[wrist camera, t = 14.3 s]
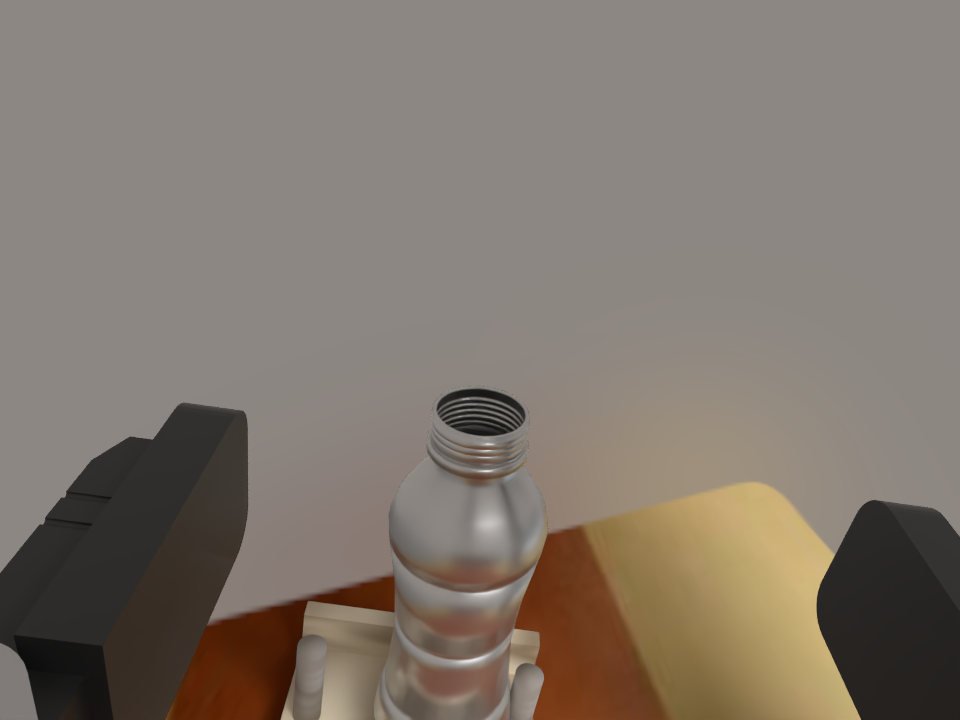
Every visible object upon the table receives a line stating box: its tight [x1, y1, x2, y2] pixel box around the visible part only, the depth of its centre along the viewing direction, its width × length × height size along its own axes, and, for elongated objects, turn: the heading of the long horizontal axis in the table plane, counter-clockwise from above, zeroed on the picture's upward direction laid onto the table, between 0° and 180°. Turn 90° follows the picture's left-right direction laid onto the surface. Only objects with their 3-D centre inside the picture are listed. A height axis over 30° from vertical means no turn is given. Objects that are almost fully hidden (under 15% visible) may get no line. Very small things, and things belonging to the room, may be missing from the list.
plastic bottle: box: [374, 386, 548, 720], centre depth 33 cm, size 6×7×20 cm
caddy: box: [281, 601, 544, 720], centre depth 37 cm, size 13×10×6 cm
